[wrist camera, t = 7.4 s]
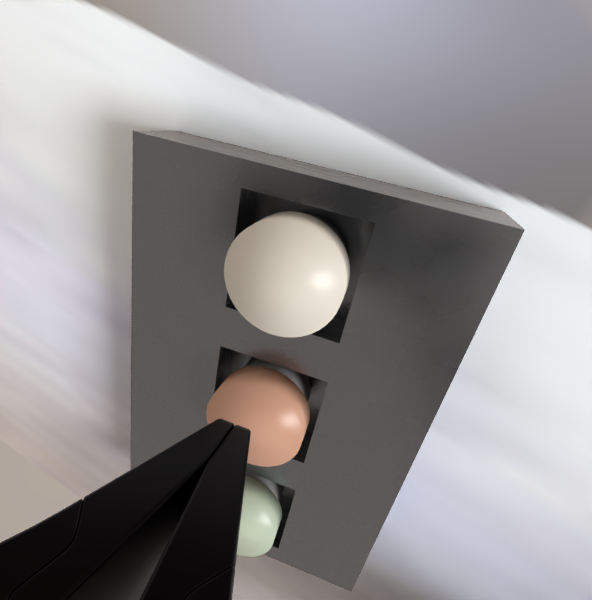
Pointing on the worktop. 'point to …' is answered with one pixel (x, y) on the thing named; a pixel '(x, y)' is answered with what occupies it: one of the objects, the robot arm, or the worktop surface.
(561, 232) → the worktop surface
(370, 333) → the console
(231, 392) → the button terracotta
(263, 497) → the button sage
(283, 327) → the button ivory
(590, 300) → the worktop surface
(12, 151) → the worktop surface
